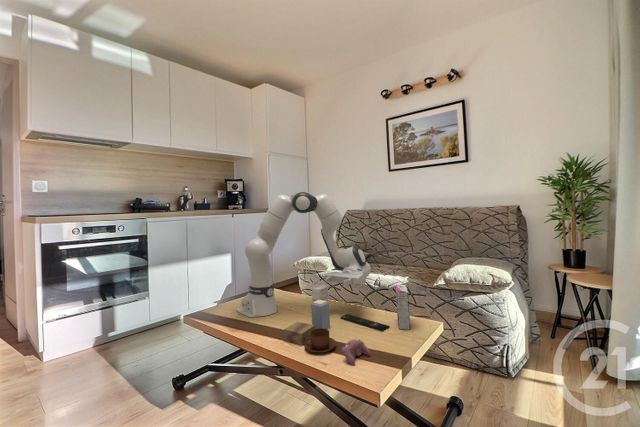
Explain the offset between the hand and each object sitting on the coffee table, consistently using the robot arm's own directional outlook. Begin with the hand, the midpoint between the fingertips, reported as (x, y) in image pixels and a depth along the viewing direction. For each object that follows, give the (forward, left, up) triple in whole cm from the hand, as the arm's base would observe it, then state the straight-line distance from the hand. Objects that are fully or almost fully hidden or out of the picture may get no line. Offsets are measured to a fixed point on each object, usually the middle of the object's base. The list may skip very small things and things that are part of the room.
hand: (334, 281), depth 144 cm
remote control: (+13, +3, -19) cm, 23 cm away
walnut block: (-1, -25, -18) cm, 31 cm away
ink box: (-15, +8, -18) cm, 25 cm away
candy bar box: (+29, +10, -18) cm, 35 cm away
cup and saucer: (+11, -27, -18) cm, 34 cm away
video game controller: (+26, -26, -18) cm, 41 cm away
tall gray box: (0, -12, -18) cm, 21 cm away
